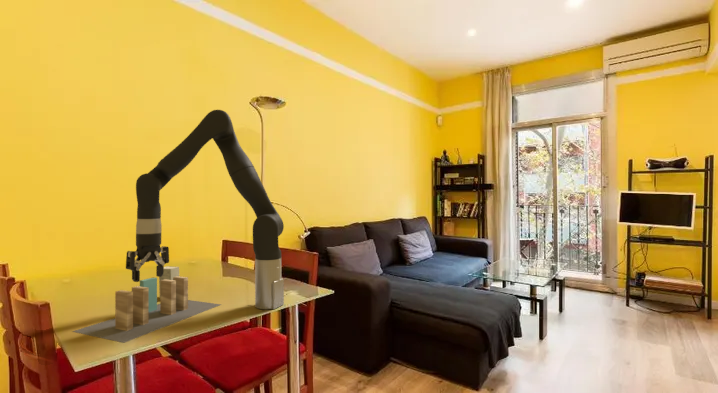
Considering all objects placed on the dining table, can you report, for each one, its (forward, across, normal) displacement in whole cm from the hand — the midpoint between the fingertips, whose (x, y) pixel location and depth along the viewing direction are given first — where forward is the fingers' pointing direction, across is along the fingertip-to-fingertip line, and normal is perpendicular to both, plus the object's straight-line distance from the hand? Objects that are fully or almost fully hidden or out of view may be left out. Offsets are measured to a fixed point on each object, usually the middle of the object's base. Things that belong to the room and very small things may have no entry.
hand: (148, 278), depth 120 cm
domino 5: (+11, +6, -8) cm, 15 cm away
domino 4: (+11, +1, -8) cm, 14 cm away
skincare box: (+12, +15, +8) cm, 20 cm away
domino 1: (+11, -14, -8) cm, 20 cm away
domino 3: (+11, -9, -8) cm, 17 cm away
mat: (+11, -3, -8) cm, 14 cm away
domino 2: (+11, 0, 0) cm, 11 cm away
